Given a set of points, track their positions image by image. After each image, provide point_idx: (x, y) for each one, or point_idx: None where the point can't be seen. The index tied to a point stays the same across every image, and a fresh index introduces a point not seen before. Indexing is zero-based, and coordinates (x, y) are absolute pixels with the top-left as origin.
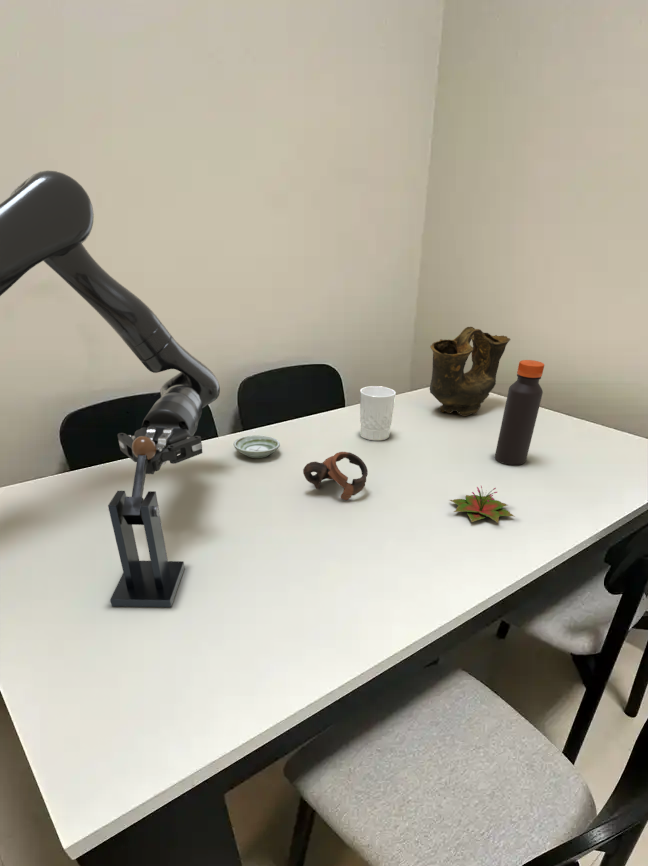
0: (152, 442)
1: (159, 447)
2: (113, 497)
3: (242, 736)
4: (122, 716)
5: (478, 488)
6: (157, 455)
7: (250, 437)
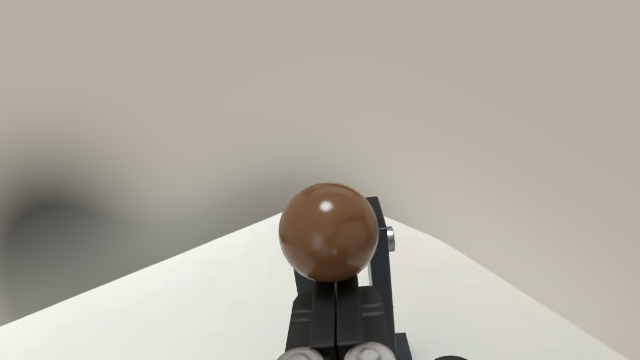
0: (285, 208)
1: (291, 357)
2: (380, 210)
3: (227, 235)
4: None
5: None
6: (301, 334)
7: None
